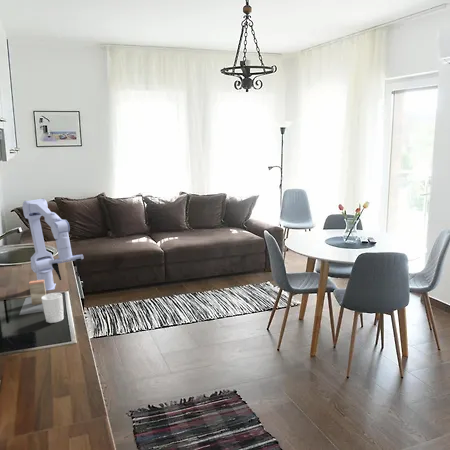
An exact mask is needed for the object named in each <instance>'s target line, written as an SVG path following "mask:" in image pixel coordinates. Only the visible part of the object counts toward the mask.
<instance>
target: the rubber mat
mask: <svg viewBox="0 0 450 450" xmlns="http://www.w3.org/2000/svg"><path fill="white" fill-rule="evenodd" d="M41 312H42V313H44V309H43V304H35V305H32V300H31V296H29V297H25V299H24V301H23V304H22V306H21V309H20V311H19V314H18V315H19V316H21V315H28V314H35V313H41Z"/></svg>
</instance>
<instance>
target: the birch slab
mask: <svg viewBox="0 0 450 450" xmlns="http://www.w3.org/2000/svg"><path fill="white" fill-rule="evenodd" d="M28 285H29V287H28V288H29V293H30V297H31V300H32V305H35V304H42V299H41V298H42V297H43V296H44V295H47V291H46V288H45V281H44V279H43V280H37V279H36V280H30V281H29V282H28Z"/></svg>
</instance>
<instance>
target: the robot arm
mask: <svg viewBox="0 0 450 450" xmlns="http://www.w3.org/2000/svg"><path fill="white" fill-rule="evenodd" d="M48 205H49V204H48V201H47V200H46V199H45V198H38V199H31V200H24V201H23V203H22V207H21V208H22V211H23V216H24V218H25V219H27V220H28V224H29V229H30V232H31V239H32V242H33V246H34V247H33V249H34V251H35V252H34V253H33V254H32V256H30V268H31V271H33V273H35V275H36V280H43V279H44V281H45V288H46V292H47V291H54V290H55V289H56V285H57V283H54V282H55V281H54V276H53V271H55V272H56V274H57V277H58V279H59V281H62V277H61V272H60V269H59V267H60V266H59V264H64V263H69V262H75V267H76V274H77V277H80V268H81V265H82V260H84V255H83V254H82V253H81V254H76V255H75V254H74V255H73V252H72V246H71V241H70V237H69V235H70V234H69V233H70V231H71V230H70V229H71V227H70V223H69V222H68V220H67V219H62V218H61V217H60V216H59V215H58V214H57V213H56V212H54V211H51V210H50V209H49V208H48V207H49V206H48ZM41 217H44V222H45V223H46V224H47V225H48V226H49V227H50V230H51V233H52V236H53V238H54V239H55V245H56V250H57V255H58V258H55V259H54V256H53V254H52V252H49V251H48V250H47V249H46V243H45V240H44V234H43V228H42V224H41V220H40V219H41Z"/></svg>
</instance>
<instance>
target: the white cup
mask: <svg viewBox="0 0 450 450" xmlns="http://www.w3.org/2000/svg"><path fill="white" fill-rule="evenodd" d="M63 298H64V297H63V294H62V292H51V293H48V294H47V293H46V295H44V296H43V297H42V298H41V299H42V304H43V309H44V311H43V313H44V317H45V322H46V323H49V324H53V323H59V322H61V321H63V320H64V318H65V315H64V313H65V312H64V300H63Z"/></svg>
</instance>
